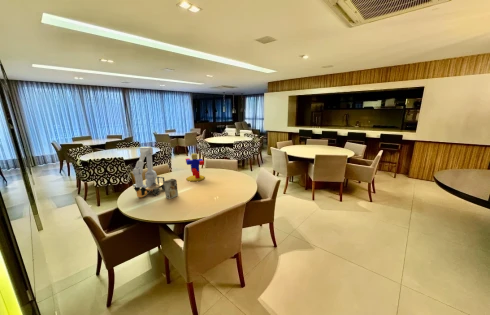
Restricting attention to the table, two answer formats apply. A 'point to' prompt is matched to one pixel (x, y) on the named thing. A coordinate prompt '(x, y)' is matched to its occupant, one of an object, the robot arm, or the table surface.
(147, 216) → the table surface
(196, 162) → the figurine
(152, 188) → the wooden toy car
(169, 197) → the coffee box
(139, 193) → the block
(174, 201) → the table surface
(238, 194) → the table surface
